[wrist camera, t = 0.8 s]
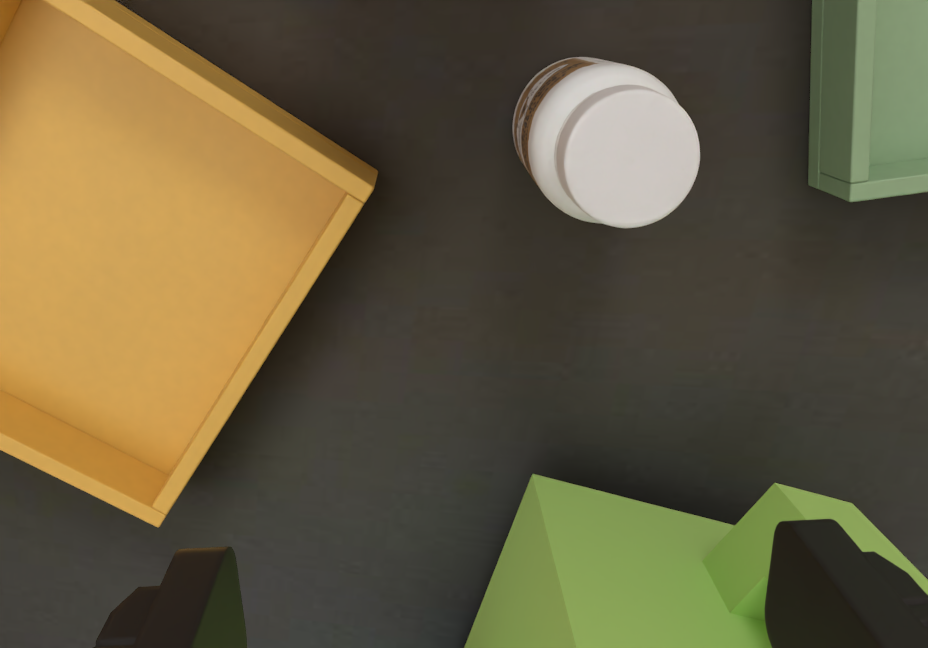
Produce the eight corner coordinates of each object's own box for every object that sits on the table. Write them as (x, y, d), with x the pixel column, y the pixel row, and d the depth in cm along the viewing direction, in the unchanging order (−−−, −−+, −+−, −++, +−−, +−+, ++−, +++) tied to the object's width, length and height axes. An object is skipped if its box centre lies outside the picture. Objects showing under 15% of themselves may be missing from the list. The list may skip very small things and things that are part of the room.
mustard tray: (34, -52, 25) (-15, -62, 22) (379, 171, 28) (374, 187, 25) (-139, 320, 29) (-199, 352, 26) (181, 483, 31) (158, 528, 29)
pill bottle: (532, 40, 27) (575, 46, 19) (659, 77, 27) (747, 96, 20) (494, 172, 28) (521, 224, 21) (616, 204, 29) (683, 266, 21)
